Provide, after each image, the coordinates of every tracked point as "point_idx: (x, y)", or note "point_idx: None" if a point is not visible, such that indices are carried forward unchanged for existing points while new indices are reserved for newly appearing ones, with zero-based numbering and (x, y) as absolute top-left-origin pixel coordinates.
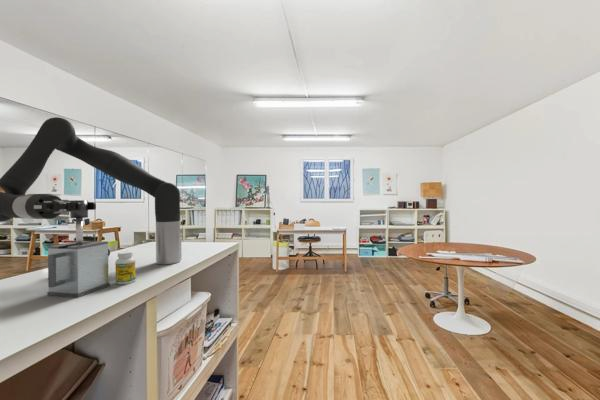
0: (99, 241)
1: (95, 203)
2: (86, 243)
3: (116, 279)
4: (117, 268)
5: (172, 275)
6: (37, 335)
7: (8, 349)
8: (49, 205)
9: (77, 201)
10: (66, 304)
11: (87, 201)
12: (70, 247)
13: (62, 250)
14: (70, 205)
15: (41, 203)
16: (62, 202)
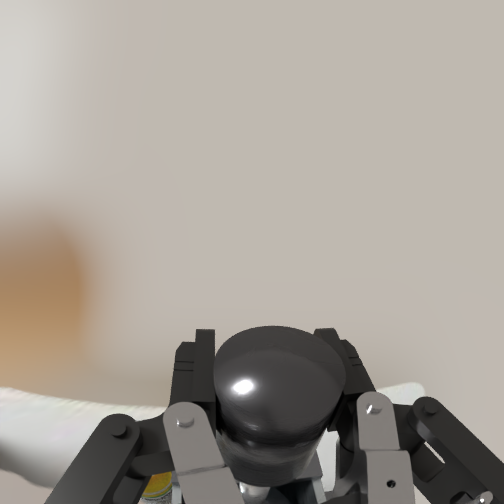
0: (174, 474)
1: (199, 330)
2: (236, 481)
3: (170, 485)
4: None
5: (90, 402)
6: (398, 396)
7: (423, 388)
8: (448, 463)
9: (318, 344)
10: (323, 477)
11: (241, 338)
12: (318, 463)
13: (323, 498)
14: (358, 368)
15: (495, 462)
16: (391, 407)
